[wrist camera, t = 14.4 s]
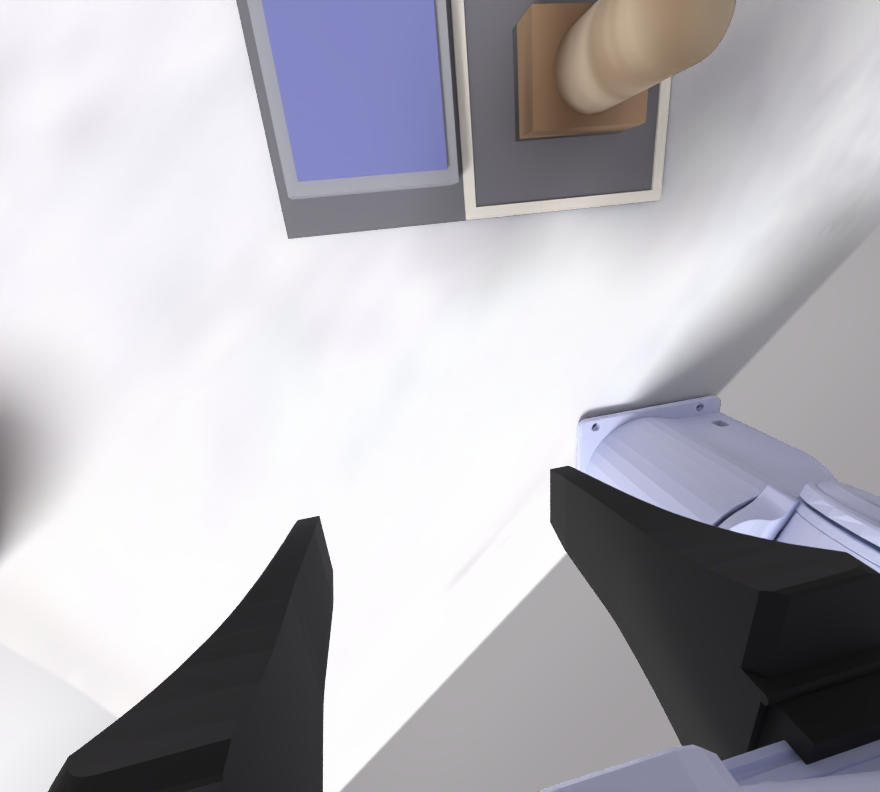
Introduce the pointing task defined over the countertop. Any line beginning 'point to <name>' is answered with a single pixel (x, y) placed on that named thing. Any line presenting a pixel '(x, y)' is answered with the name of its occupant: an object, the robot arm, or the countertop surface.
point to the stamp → (604, 61)
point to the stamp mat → (422, 118)
